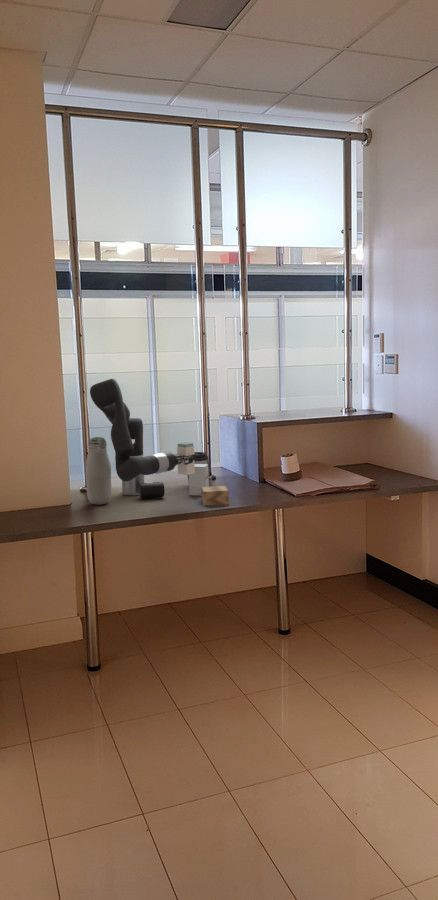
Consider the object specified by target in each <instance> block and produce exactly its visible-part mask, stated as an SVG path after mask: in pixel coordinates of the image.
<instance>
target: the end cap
mask: <svg viewBox="0 0 438 900" xmlns="http://www.w3.org/2000/svg"><path fill="white" fill-rule="evenodd" d="M139 487H140V495H139V498H140V499H141V500H148V499H149V500H150V499H151V500H152V499H162V498H163V497H164V496H165V493H166V492H165V483H164V482H163V481H157V482H156V481H154V482H145V483H141V484H140V485H139Z"/></svg>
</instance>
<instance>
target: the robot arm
mask: <svg viewBox="0 0 438 900" xmlns="http://www.w3.org/2000/svg"><path fill="white" fill-rule="evenodd" d="M122 394H123V393H122V390H121V387H120V385H119V383H118V381H117V380H116V379H115V378H109V379H105V380H103V381H100V382H98V383H95V384H92V385H91V386H90V388H89V395H90V398H91V401H92V402H93V403H94V405H95V406H96V407H97V408H98V409H99V410H100V411H101V412H102V413H103V414H104V415H105V417H106V419H107V420H108V421H109V422H110V423H111V424H112V425H111V429H110V439H111V443H112V446H113V449H114V454H115V455H114V457H115V459H114V461H115V470H116V474H117V476H118V478H119V479H120V480H121V488H122V495H124V496H125V495H126V496H140V487H139V485H140V484H141V483H146V482H145V476H149V475H150V476H151V475H154V474H162V473H166V472H171V471H173V470H174V469H175V467H177V466H178V465H180V464H185V465H187V464H190V463H193V460H196V455H188V456H185V455H177V453H172V452H171V451H163V452H158V453H154V454H152V455H146V456H144V423H143V420H142V418H139V417H132V418H131V413H130V409H129V408H128V405H126V403H125V402H124V399H123V395H122ZM132 440H134V442H133V441H132ZM182 457H183V460H182Z"/></svg>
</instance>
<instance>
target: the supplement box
mask: <svg viewBox="0 0 438 900" xmlns="http://www.w3.org/2000/svg"><path fill="white" fill-rule="evenodd" d="M209 480H210V478H209V464H208V463H207V464H195V473H194V474H189V483H188V485H189V486H188V489H189V490H188V491H189V492H188V493H189V496H201V497H202V490H201V487H210V486H209V484H210V482H209Z"/></svg>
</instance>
